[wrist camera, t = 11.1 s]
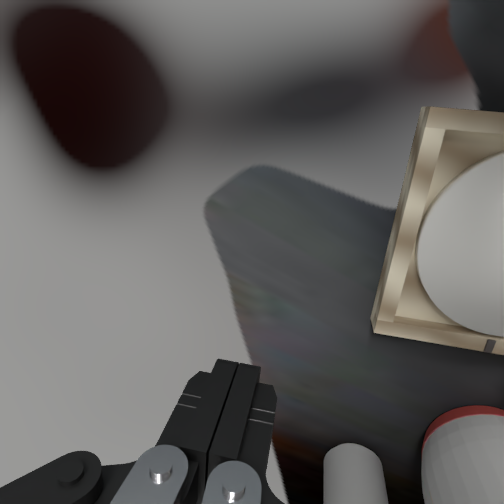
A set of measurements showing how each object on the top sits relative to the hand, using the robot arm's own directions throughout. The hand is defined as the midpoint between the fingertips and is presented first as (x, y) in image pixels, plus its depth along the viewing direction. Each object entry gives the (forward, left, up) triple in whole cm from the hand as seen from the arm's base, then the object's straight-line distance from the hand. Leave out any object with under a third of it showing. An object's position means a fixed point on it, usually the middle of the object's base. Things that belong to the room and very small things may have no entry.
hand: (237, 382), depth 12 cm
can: (+34, +12, -27) cm, 45 cm away
